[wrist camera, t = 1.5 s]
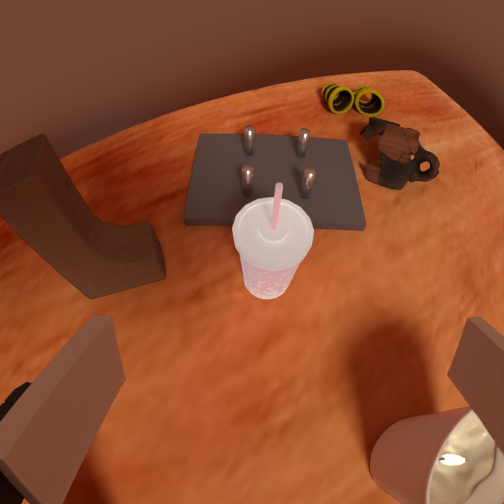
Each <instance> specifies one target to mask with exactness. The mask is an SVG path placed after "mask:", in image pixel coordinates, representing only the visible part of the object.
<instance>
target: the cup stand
mask: <svg viewBox="0 0 504 504" xmlns="http://www.w3.org/2000/svg"><path fill="white" fill-rule="evenodd" d="M309 136H310V130H308V129H306V128H302V129H301V130H300V134H299V136H287V135H266V134H255V128H254V127H253V126H246V127H245V128H244V134H200V137H199V141H198V146H197V151H196V155H195V160H194V165H193V170H192V175H191V180H190V185H189V190H188V196H187V201H186V207H185V212H184V218H183V219H184V222H185V225H224V226H233V224H234V221H235V218H236V215H237V214H238V213H239V212H240V211H241V209H242V208H243V207H244V206H245V205H247V204H249V203H251V202H253V201H255V200H257V199H261V198H269V197H274V194H275V186H276V183H282V184H283V191H282V198H281V199H286V200H289V201H291V202H292V203H294V204H296V205H298V206H299V207H301V208H302V209H303V211H304V212H305V213H306V214H307V215H308V216H309V217H310V220H311V223H312V226H313V228H315V229H338V230H358V231H363V230H364V228H365V226H366V222H365V217H364V212H363V207H362V202H361V197H360V193H359V188H358V184H357V180H356V176H355V171H354V167H353V163H352V159H351V155H350V151H349V148H348V144H347V141H346V140H337V139H326V138H315V137H309Z"/></svg>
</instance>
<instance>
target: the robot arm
mask: <svg viewBox="0 0 504 504" xmlns="http://www.w3.org/2000/svg"><path fill="white" fill-rule="evenodd" d="M447 375H448V377H449V378H450V379H451V381H452V382H453V383H454V385H455V386H456V387H457V389H458V390H459V391H460V393H461V394H462V395H463V397H464V398H465V400H466V401H467V402H468V404H469V405H470V407H471V408H472V409H473V411H474V412H475V414H476V415H477V417H478V418H479V419H480V421H481V422H482V424H483V425H484V427H485V428H486V430H487V431H488V433H489V434H490V436H491V437H492V439H493V440H494V442H495V443H496V445H497V446H498V448H499V449H500V451H501V452H502V454H503V456H504V337H503V336H502V335H501V334H500V333H499V332H498V331H496V330H495V329H494V328H493V327H492V326H491V325H489V324H488V323H487V322H486V321H485V320H484V319H482V318H481V317H473V318H467V321H466V324H465V327H464V330H463V333H462V336H461V339H460V342H459V345H458V348H457V351H456V353H455V356H454V359H453V361H452V364H451V366H450V369H449V371H448V374H447ZM125 379H126V378H125V375H124V371H123V367H122V362H121V358H120V354H119V349H118V345H117V340H116V335H115V330H114V325H113V320H112V317H107V316H99V315H93V316H92V317H91V318H90V319H89V320H88V321H87V322H86V323H85V324H84V325H83V326H82V328H81V329H80V330H79V331H78V332H77V333H76V334H75V335H74V336H73V337H72V338H71V339H70V340H69V342H68V343H67V344H66V345H65V346H64V347H63V348H62V349H61V350H60V352H59V353H58V354H57V355H56V356H55V357H54V358H53V359H52V360H51V362H50V363H49V364H48V365H47V366H46V367H45V368H44V370H43V371H42V372H41V373H40V374H39V375H38V377H37V378H36V379H35V380H34V381H33V382H32V383H29V382H26V383H24V384H23V385H21V386H19V387H18V388H16V389H15V390H13V392H12V393H11V394H10V395H9V396H8V397H7V399H6V400H5V403H2V405H1V406H0V504H21V503H22V501H23V499H24V498H25V499H26V500H27V501H28V502H29V503H30V504H63V502H64V500H65V498H66V496H67V493H68V491H69V489H70V487H71V485H72V483H73V481H74V478H75V476H76V474H77V472H78V470H79V468H80V466H81V464H82V462H83V460H84V458H85V456H86V454H87V452H88V450H89V448H90V446H91V444H92V442H93V440H94V438H95V436H96V434H97V432H98V430H99V428H100V426H101V424H102V422H103V420H104V418H105V416H106V414H107V413H108V411H109V409H110V407H111V405H112V403H113V401H114V399H115V397H116V396H117V394H118V392H119V390H120V388H121V386H122V384H123V383H124V381H125Z"/></svg>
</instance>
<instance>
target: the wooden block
mask: <svg viewBox="0 0 504 504" xmlns="http://www.w3.org/2000/svg"><path fill="white" fill-rule="evenodd" d="M0 216H1V217H2V218H3V219H4V220H5V221H6V222H7V223H8V224H9V225H10V226H11V227H12V228H13V229H14V230H15V231H16V233H17V234H18V235H19V236H20V237H21V238H22V239H23V240H24V241H25V242H26V243H27V244H28V245H30V246H31V247H32V248H33V249H34V250H35V251H36V252H37V253H38V254H39V255H40V256H41V257H42V258H43V259H44V260H45V261H46V262H47V263H49V264H50V265H51V266H52V267H53V268H54V269H55V270H56V271H57V272H59V273H60V274H61V275H62V276H63V277H64V278H65V279H67V280H68V281H69V282H70V283H71V284H72V285H73V286H75V287H76V288H77V289H78V290H79V291H81V292H82V293H83V294H84V295H85V296H87V297H88V298H89V299H95V298H98V297H102V296H105V295H109V294H112V293H116V292H119V291H123V290H126V289H130V288H133V287H137V286H140V285H144V284H147V283H151V282H154V281H158V280H161V279H164V278H165V277H166V272H165V267H164V263H163V258H162V253H161V248H160V244H159V241H158V239H157V237H156V235H155V233H154V231H153V229H152V226H151V224H150V223H149V222H143V223H137V224H132V225H127V226H117V225H113V224H108V223H104V222H103V221H101V220H100V219H99V218H98V217H96V216H95V215H94V214H93V213H92V212H91V211H90V209H89V207H88V206H87V204H86V203H85V201H84V200H83V198H82V197H81V195H80V193H79V192H78V190H77V189H76V187H75V185H74V184H73V182H72V180H71V179H70V177H69V176H68V174H67V172H66V171H65V169H64V167H63V165H62V164H61V162H60V160H59V159H58V157H57V155H56V153H55V152H54V150H53V148H52V146H51V145H50V143H49V141H48V139H47V138H46V136H45V135H44V134H40V135H38V136H36V137H34V138H31V139H29V140H27V141H25V142H23V143H21V144H19V145H17V146H15V147H13V148H11V149H10V150H8V151H6V152H4V153H2V154H1V155H0Z"/></svg>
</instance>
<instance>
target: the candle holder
mask: <svg viewBox="0 0 504 504" xmlns="http://www.w3.org/2000/svg"><path fill="white" fill-rule="evenodd" d="M370 472H371V476H372V478H373V480H374V482H375V483H376V485H377V486H378V487H379V488H380V489H382V490H383V491H384V492H385V493H387V494H388V495H390V496H391V497H393V498H394V499H396V500H397V501H399V502H400V503H402V504H502V502H503V501H504V456H503V454H502V452H501V451H500V449H499V448H498V446H497V445H496V443H495V442H494V440H493V439H492V437H491V436H490V434H489V433H488V431H487V430H486V428H485V427H484V425H483V424H482V422H481V421H480V419H479V418H478V417H477V415H476V414H475V412H474V411H473V409H472V408H471V407H470V406H468V407H463V408H458V409H453V410H448V411H443V412H437V413H431V414H425V415H419V416H413V417H408V418H405V419H402V420H399V421H397V422H396V423H394V424H392V425H391V426H390V427H388V428H387V429H386V430H385V431H384V432H383V433H382V435H381V436H380V437H379V439H378V440H377V442H376V443H375V445H374V448H373V450H372V453H371V457H370Z"/></svg>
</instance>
